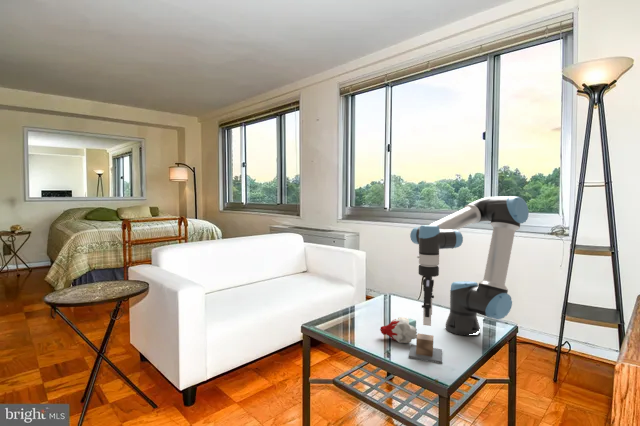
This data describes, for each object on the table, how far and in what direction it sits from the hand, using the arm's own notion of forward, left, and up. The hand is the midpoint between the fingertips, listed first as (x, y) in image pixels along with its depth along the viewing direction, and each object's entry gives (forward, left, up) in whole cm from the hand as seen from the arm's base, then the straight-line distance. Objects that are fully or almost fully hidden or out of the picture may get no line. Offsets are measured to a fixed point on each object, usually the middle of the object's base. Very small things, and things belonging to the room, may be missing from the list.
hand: (427, 319), depth 134 cm
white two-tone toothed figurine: (+12, -11, -14) cm, 21 cm away
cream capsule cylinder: (+11, -22, -14) cm, 28 cm away
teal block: (+9, -28, -14) cm, 32 cm away
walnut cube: (+1, 0, -13) cm, 13 cm away
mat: (0, 0, -14) cm, 14 cm away
